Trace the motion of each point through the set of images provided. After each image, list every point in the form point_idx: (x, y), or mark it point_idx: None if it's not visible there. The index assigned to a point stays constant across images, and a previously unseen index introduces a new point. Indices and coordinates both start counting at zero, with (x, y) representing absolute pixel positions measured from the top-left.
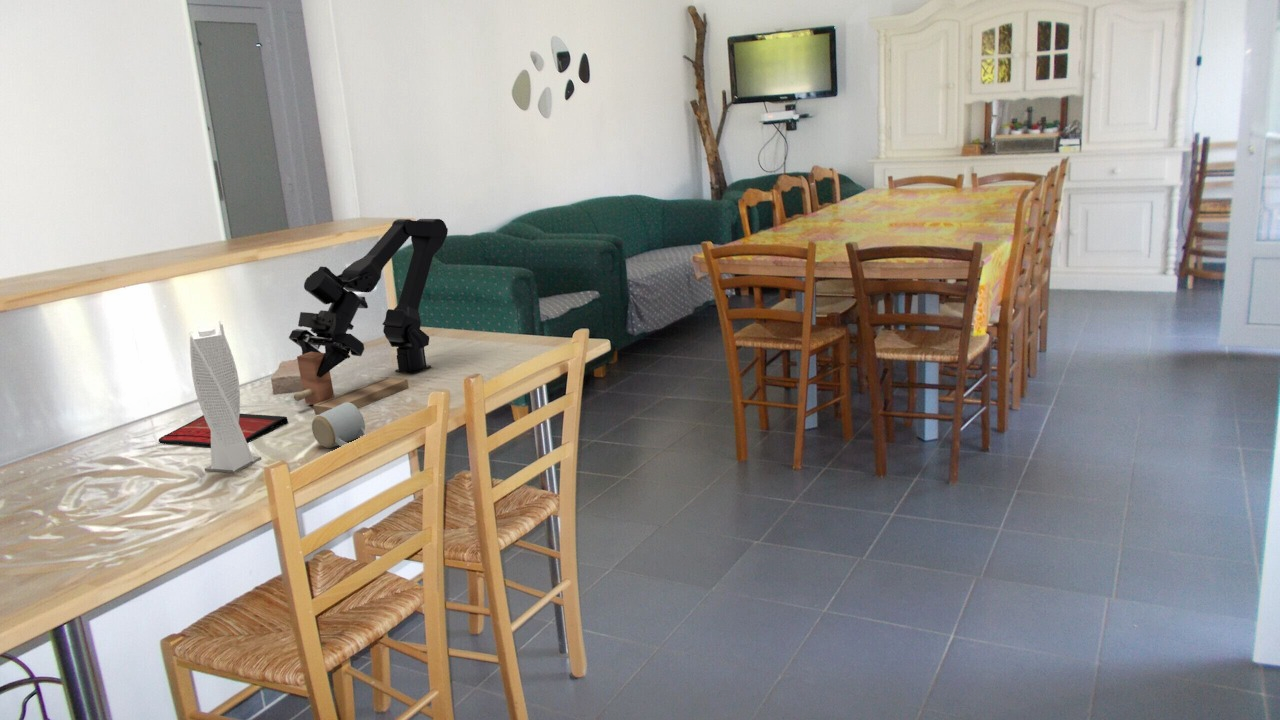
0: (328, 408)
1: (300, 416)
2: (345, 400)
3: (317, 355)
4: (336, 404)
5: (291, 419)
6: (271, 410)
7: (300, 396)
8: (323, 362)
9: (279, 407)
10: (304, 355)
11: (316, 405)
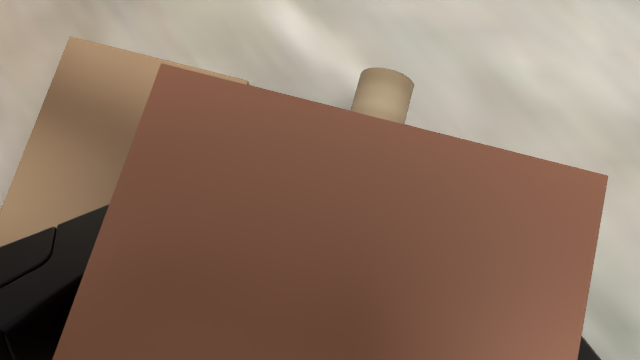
0: (120, 51)
1: (322, 58)
2: (68, 184)
3: (152, 247)
4: (91, 104)
5: (344, 9)
6: (596, 143)
7: (357, 89)
8: (90, 221)
9: None
10: (471, 247)
11: (220, 75)
